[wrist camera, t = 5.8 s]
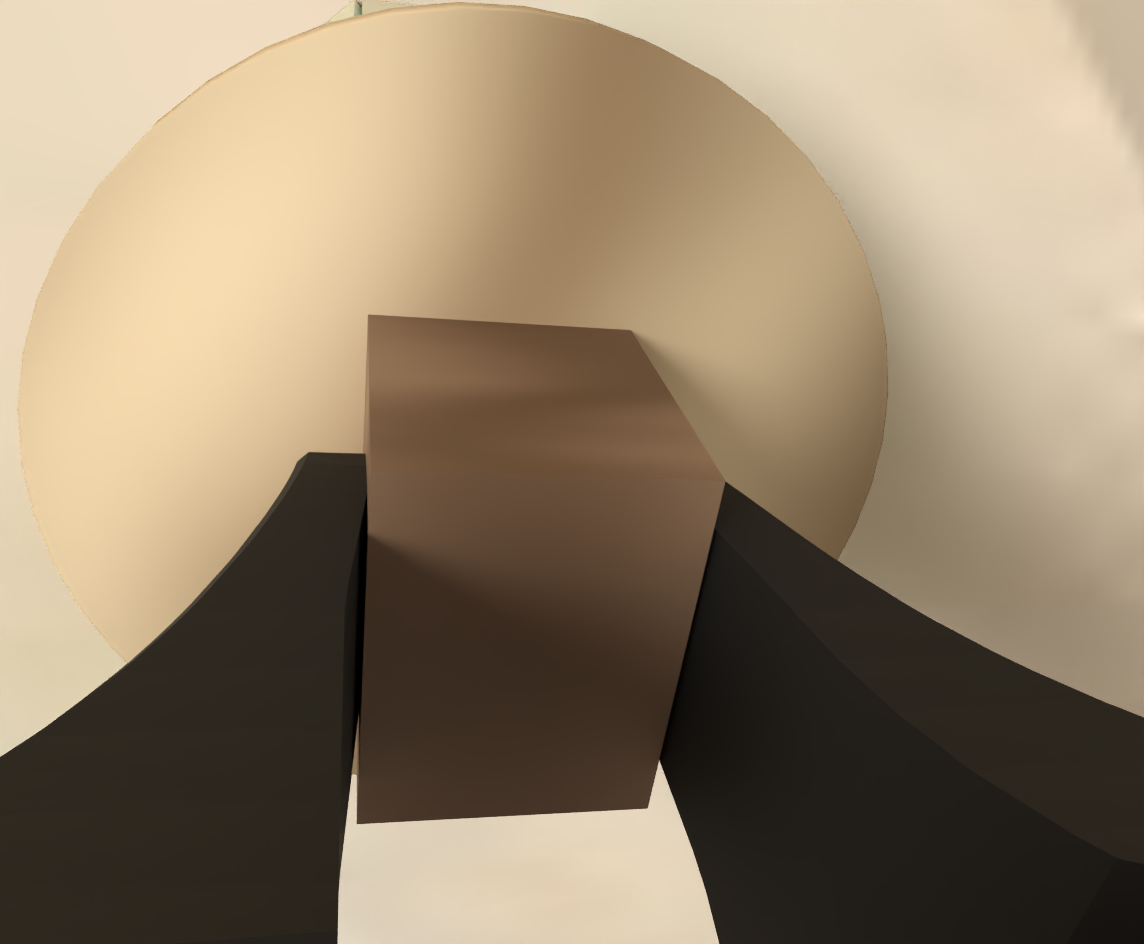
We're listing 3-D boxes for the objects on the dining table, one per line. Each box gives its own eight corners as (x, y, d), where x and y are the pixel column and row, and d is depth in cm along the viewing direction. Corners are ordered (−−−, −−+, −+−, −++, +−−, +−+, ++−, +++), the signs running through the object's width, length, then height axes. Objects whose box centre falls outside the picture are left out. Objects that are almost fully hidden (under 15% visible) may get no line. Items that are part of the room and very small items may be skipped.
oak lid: (965, 64, 11) (1248, 140, 8) (763, 729, 16) (879, 967, 13) (-30, -68, 9) (-290, -46, 5) (87, 754, 14) (-10, 1053, 10)
